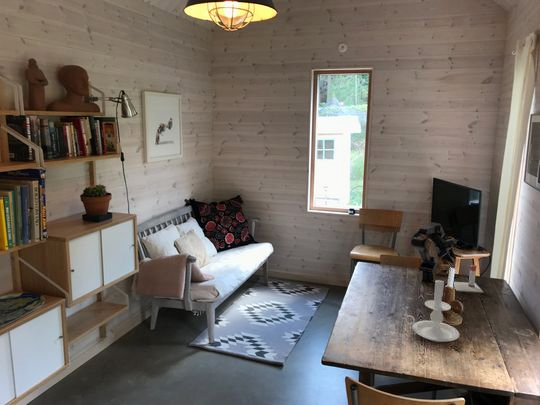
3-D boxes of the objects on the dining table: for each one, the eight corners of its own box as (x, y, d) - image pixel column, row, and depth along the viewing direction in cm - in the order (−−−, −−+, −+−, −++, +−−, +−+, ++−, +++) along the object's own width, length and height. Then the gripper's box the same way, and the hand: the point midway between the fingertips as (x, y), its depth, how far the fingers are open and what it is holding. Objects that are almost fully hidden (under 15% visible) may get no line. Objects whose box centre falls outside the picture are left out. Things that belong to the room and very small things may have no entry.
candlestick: (404, 322, 218) (408, 268, 213) (457, 330, 210) (463, 275, 205) (401, 340, 199) (405, 282, 194) (459, 351, 191) (465, 290, 186)
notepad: (453, 291, 260) (453, 290, 260) (447, 282, 275) (447, 281, 275) (483, 292, 258) (483, 291, 258) (475, 283, 272) (475, 282, 272)
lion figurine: (431, 273, 290) (432, 260, 288) (430, 271, 295) (431, 258, 293) (454, 276, 285) (456, 263, 284) (454, 273, 290) (455, 260, 289)
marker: (469, 287, 265) (471, 266, 263) (467, 284, 269) (469, 264, 266) (475, 287, 265) (477, 267, 262) (473, 285, 268) (475, 265, 266)
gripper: (444, 236, 266) (462, 257, 262) (450, 230, 281) (467, 250, 277) (430, 247, 271) (447, 267, 267) (437, 240, 287) (453, 259, 283)
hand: (454, 260), depth 274 cm, fingers open, 9 cm apart
